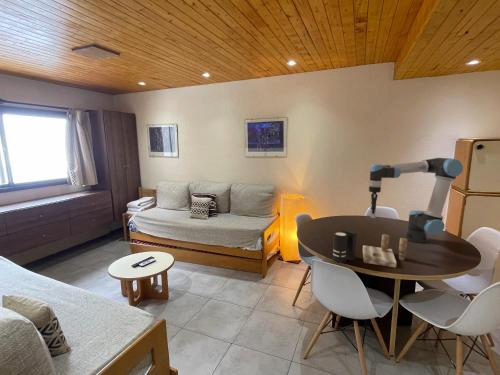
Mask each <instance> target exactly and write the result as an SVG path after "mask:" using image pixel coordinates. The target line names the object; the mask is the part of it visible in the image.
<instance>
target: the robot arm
mask: <svg viewBox="0 0 500 375" xmlns="http://www.w3.org/2000/svg"><path fill="white" fill-rule="evenodd" d="M463 171H464V166H463V163H462V162H461V160H459V159H457V158H450V157H449V158H448V157H445V158H444V157H434V158H429V159H422V160H420V161H413V162H404V163H396V164H395V163H394V164H385V165H383V164H381V163H379V164H377V163H373V164H371V166H370V170H369V181H368V183H369V184H368V185H369V187H368V192H370V193H371V194H370V199H371V201H370V204H371V205H370V219H376V211H377V201H378V194H377V193H381V190H382V180H383V179H386V178H387V179H398V178H400V177H401V174H413V173H424V174H426V173H427V174H429V173H430V174H434V177H435V183H434V186H433V189H432V194H431V196H430V199H429V202H428V205H427V209H426V210H410V211H409V213H408V214H409V215H408V225H407V230H406V231H405V233H404V235H403V236H404V237H403V238H406V239H408V242H412V243H418V244H426V243H428V236H427V234H429V235H434V236H435V235H439V234H440V233H442V232H443V231H444V229H445V223H444V221H443V218H444V217H443V215H442V214H443V209H444V207H445V204H446V200H447V198H448V194H449V192H450V188H451V185H452V182H453V181H455V180H456V178H457V177H458V176H459V175H461V174H462V173H463Z"/></svg>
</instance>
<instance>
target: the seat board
mask: <svg viewBox="0 0 500 375" xmlns="http://www.w3.org/2000/svg"><path fill="white" fill-rule="evenodd" d="M389 241H390V235H389V234H386V233H383V234H381V242H380V243H381V245H380V247H377V246H373V245H372V246H371V245H362V257H363V258H362V260H363V263H365V264H372V265H379V266H384V267H389V268H390V267H391V268H397V260H396V257H395V255H394V252H393V249H392V248H389V245H390V244H389Z"/></svg>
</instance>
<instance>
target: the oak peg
mask: <svg viewBox="0 0 500 375" xmlns="http://www.w3.org/2000/svg"><path fill="white" fill-rule="evenodd" d="M408 242H409V240H408V239H406V238H404V237H399V246H398V252H399V253H398V260H399V261H405V258H406V254H407V249H408V248H407V247H408Z"/></svg>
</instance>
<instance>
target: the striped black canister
mask: <svg viewBox="0 0 500 375" xmlns="http://www.w3.org/2000/svg"><path fill="white" fill-rule="evenodd" d="M332 246H333V247H332V261H333V262H335V263H339V264H345V263H346V261H347V259H349V260H351V261H353V260H355V258H356V246H357V232H355V231H352V230H348V229H345V228H343V229H341V231H335V232H333V245H332Z"/></svg>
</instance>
